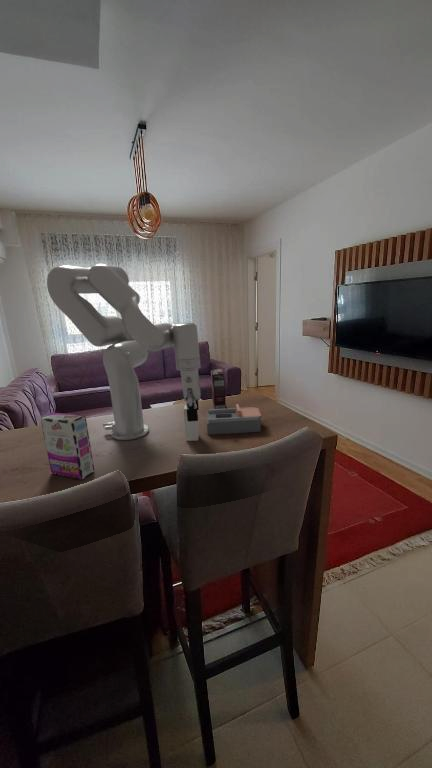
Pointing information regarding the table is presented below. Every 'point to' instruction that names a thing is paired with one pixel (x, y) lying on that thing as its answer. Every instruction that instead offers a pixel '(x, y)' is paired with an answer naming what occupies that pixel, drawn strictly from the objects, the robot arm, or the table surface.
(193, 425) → the plug
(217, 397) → the supplement box
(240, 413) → the shutter
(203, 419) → the table surface
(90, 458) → the candy bar box
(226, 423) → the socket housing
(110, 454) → the table surface
